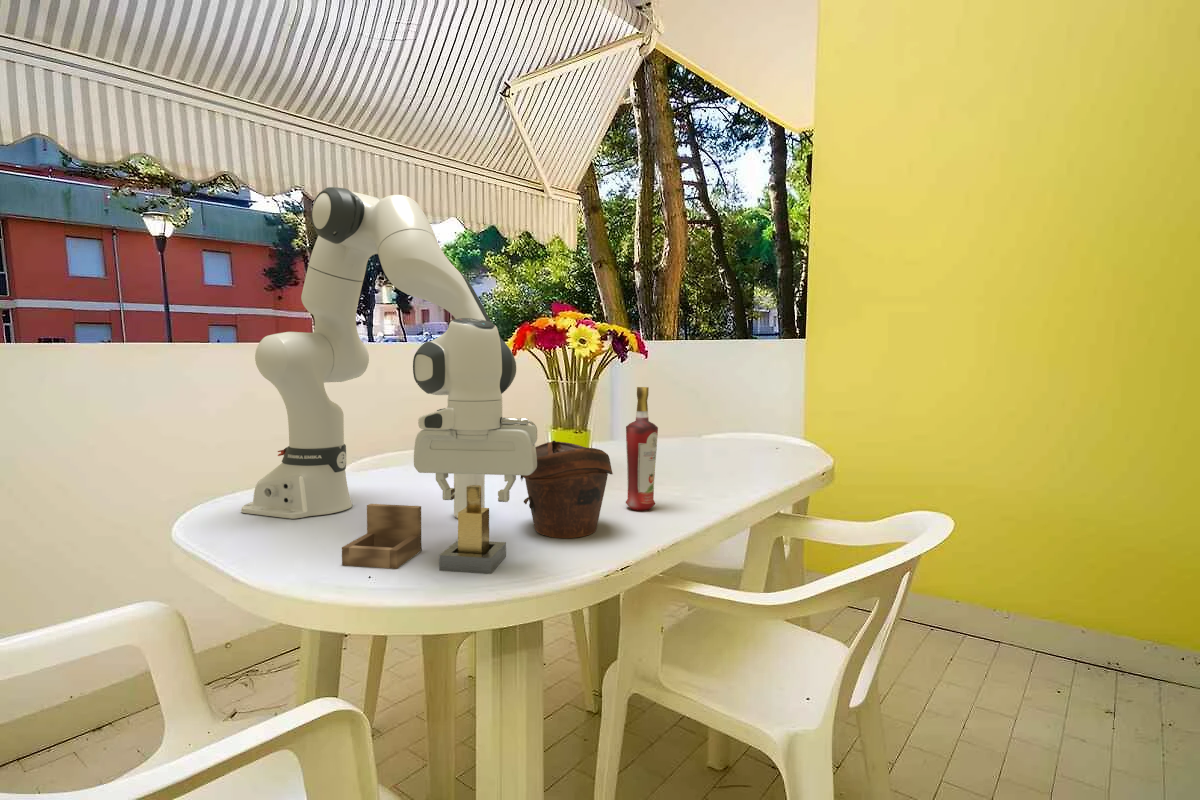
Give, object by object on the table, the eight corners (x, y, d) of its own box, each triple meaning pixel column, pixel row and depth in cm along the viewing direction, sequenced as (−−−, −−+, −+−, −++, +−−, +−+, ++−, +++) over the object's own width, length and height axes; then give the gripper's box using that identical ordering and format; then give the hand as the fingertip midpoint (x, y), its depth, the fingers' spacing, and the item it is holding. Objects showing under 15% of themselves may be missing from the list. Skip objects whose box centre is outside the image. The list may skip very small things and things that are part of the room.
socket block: (439, 570, 100) (439, 555, 100) (458, 553, 108) (458, 539, 108) (490, 573, 99) (490, 558, 98) (506, 556, 107) (506, 542, 107)
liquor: (638, 503, 148) (640, 386, 146) (662, 508, 143) (665, 387, 141) (617, 508, 143) (620, 386, 141) (642, 514, 138) (644, 388, 136)
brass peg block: (458, 566, 102) (457, 488, 101) (466, 558, 106) (466, 483, 105) (481, 568, 101) (481, 489, 100) (489, 560, 105) (489, 484, 104)
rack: (342, 565, 101) (341, 517, 101) (370, 547, 111) (370, 503, 110) (397, 568, 100) (396, 520, 100) (421, 550, 110) (421, 506, 109)
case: (549, 512, 138) (549, 432, 136) (629, 526, 128) (630, 440, 126) (497, 532, 122) (497, 442, 121) (583, 550, 112) (584, 452, 111)
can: (488, 513, 136) (488, 459, 136) (479, 520, 130) (479, 464, 129) (459, 512, 137) (459, 458, 136) (449, 519, 131) (449, 463, 130)
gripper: (541, 416, 104) (541, 498, 104) (424, 414, 106) (425, 494, 107) (532, 420, 97) (533, 506, 98) (408, 418, 100) (410, 502, 101)
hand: (476, 500), depth 103 cm, fingers open, 8 cm apart
